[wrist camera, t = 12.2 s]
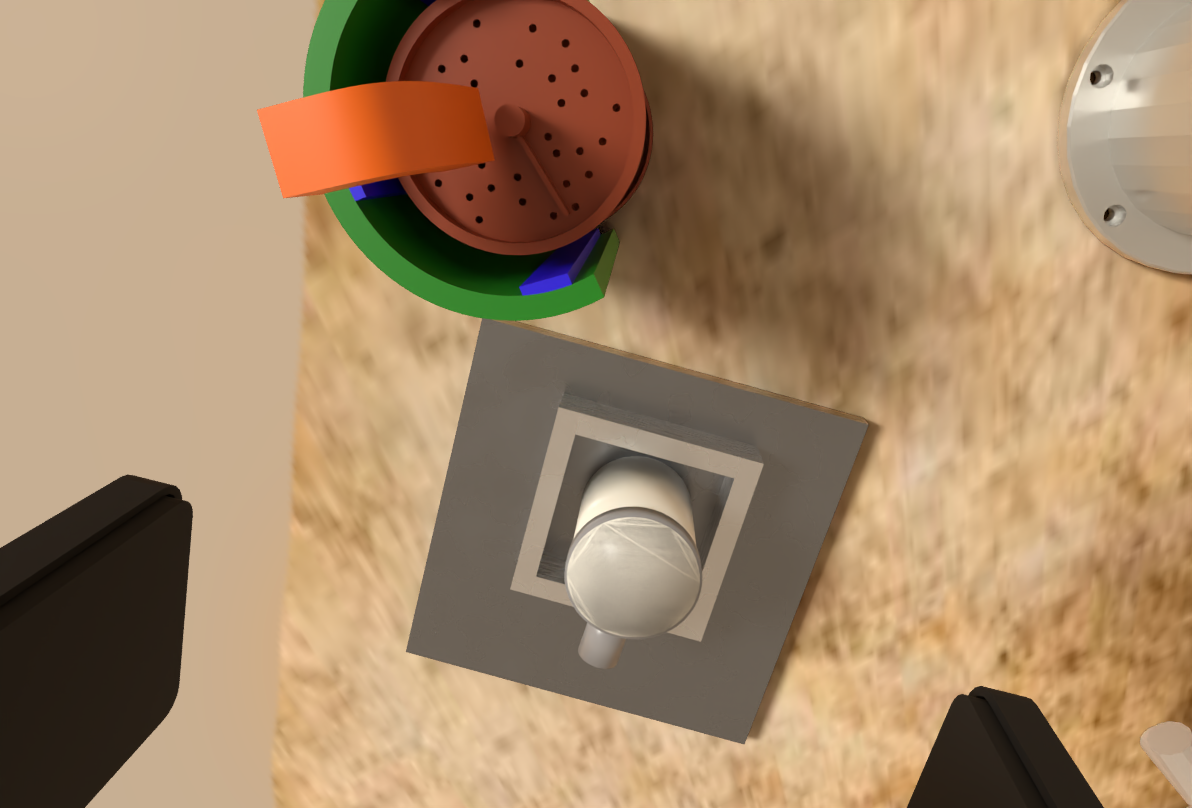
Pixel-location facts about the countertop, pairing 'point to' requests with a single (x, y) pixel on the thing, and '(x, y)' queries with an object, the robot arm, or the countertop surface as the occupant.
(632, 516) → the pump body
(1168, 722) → the pipe connector
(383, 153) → the motor
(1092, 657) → the countertop surface
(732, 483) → the mount plate
